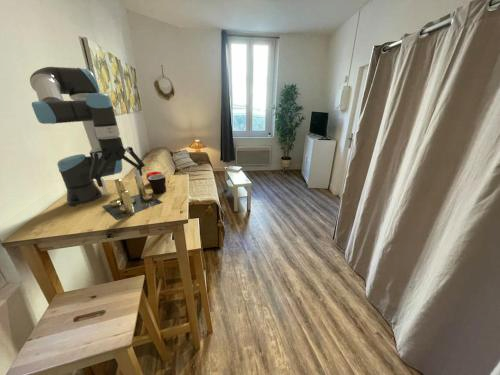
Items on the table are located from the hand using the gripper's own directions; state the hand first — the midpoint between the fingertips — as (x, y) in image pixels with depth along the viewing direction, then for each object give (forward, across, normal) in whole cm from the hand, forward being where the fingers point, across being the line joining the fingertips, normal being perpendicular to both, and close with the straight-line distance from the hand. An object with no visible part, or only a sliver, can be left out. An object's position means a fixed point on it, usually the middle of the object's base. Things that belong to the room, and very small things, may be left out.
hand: (124, 188), depth 89 cm
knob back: (+12, +1, +17) cm, 21 cm away
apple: (+14, +26, +28) cm, 41 cm away
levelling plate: (+14, +5, +10) cm, 18 cm away
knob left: (+12, +12, +12) cm, 21 cm away
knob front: (+13, 0, +4) cm, 13 cm away
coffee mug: (+14, +22, +14) cm, 30 cm away
